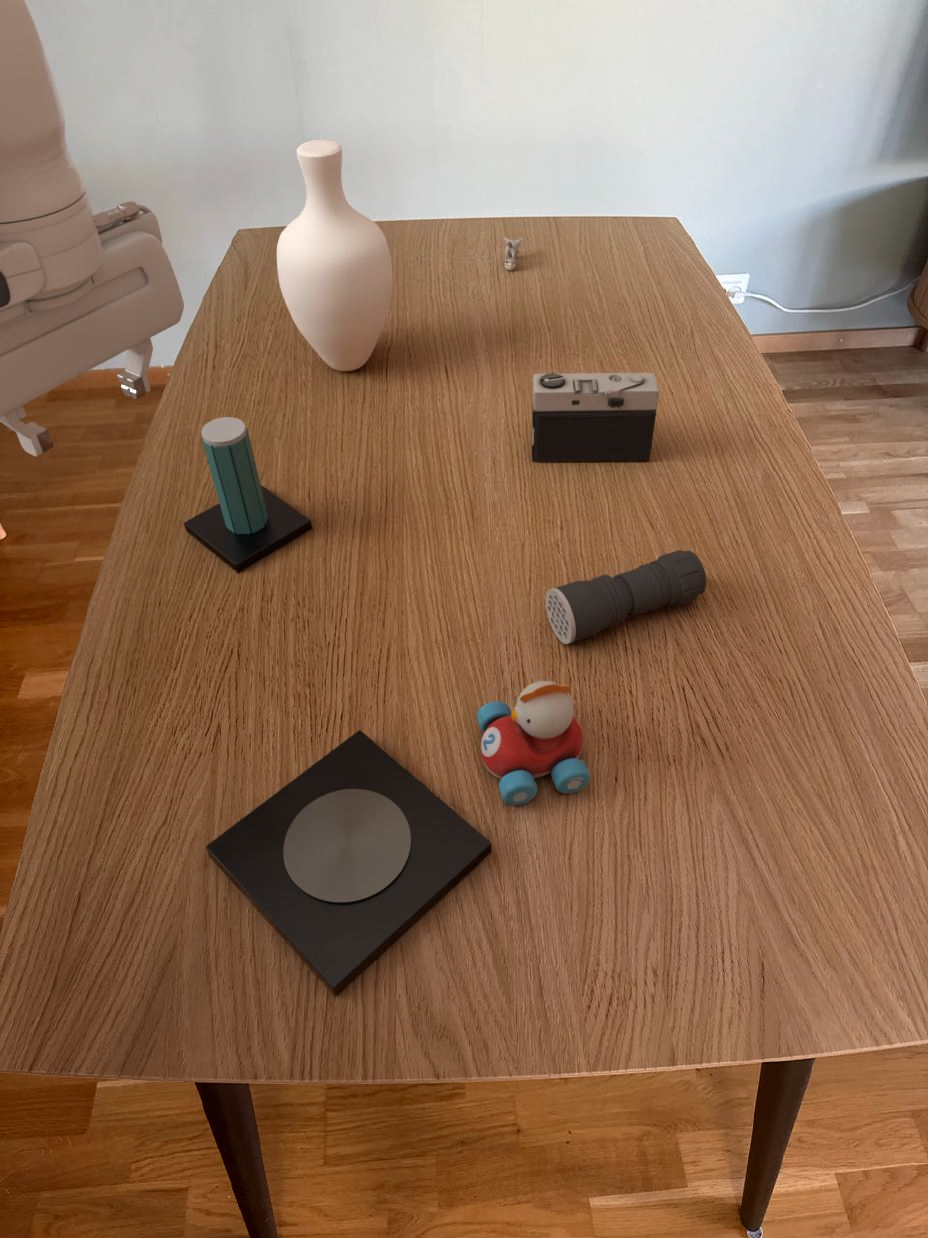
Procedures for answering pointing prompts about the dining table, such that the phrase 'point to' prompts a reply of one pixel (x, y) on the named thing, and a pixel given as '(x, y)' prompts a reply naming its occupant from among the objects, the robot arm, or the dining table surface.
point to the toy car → (533, 742)
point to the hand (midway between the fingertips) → (90, 420)
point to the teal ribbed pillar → (235, 474)
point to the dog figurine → (511, 252)
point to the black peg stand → (254, 546)
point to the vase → (334, 265)
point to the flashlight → (623, 595)
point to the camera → (593, 416)
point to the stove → (348, 858)
